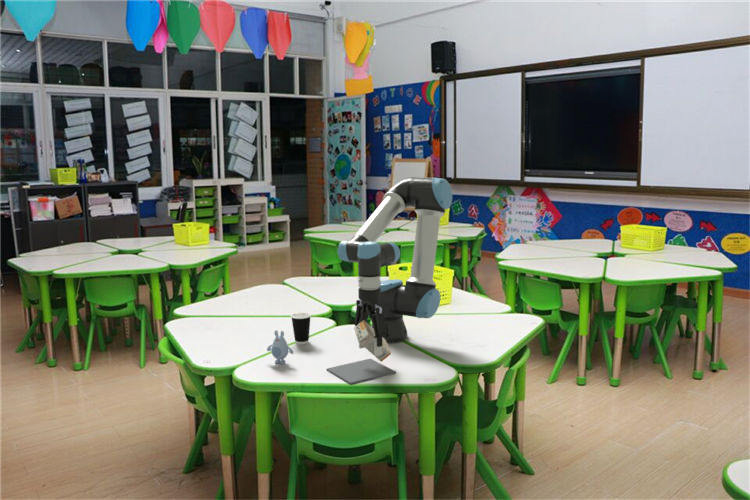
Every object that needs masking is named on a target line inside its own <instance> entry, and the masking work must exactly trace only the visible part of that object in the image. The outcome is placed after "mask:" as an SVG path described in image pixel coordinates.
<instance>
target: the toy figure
mask: <svg viewBox="0 0 750 500" xmlns="http://www.w3.org/2000/svg"><path fill="white" fill-rule="evenodd" d="M273 334H274V335H275V338H274V339H273V342H272V344H270V345H269V346H268V347H266V351H267V352H271V354H272V357H273V358H275V360H274V363H275V364H281V365H284V364H286V360H285V358H287V356H288V355H289V354H291V355H293V354H294V350H293V348H292V347H290V346H289V345H288V342H287V340H286V339H285V337H284V336H285V333H284V331H283V330H281V331H280V335H279V330H278V329H277V330H275V331H274V333H273Z"/></svg>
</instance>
